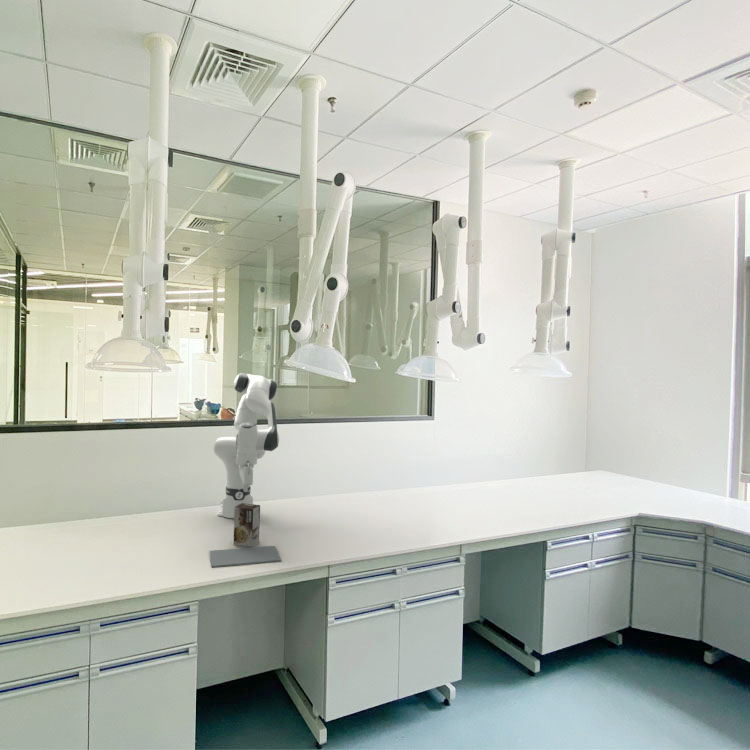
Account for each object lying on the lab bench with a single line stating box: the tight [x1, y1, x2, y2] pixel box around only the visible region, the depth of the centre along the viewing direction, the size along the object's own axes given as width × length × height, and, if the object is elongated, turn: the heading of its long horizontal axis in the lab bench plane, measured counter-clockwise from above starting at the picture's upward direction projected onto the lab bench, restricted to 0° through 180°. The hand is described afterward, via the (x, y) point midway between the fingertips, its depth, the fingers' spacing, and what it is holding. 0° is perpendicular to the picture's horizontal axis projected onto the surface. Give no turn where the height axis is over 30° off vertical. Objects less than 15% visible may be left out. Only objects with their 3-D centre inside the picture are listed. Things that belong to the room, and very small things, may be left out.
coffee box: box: [233, 503, 261, 548], centre depth 219 cm, size 9×6×16 cm
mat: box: [209, 545, 282, 568], centre depth 204 cm, size 16×26×1 cm, turn 110°
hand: (245, 491), depth 227 cm, fingers closed
